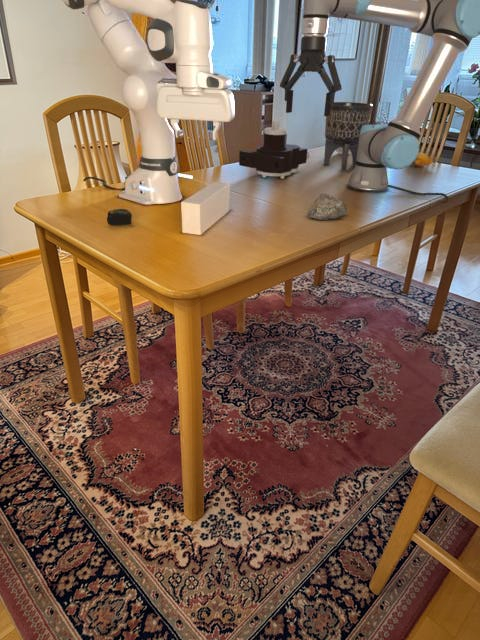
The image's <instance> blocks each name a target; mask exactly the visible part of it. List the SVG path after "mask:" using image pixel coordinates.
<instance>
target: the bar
mask: <svg viewBox="0 0 480 640" xmlns="http://www.w3.org/2000/svg"><path fill="white" fill-rule="evenodd" d="M230 195H231V183H230V182H221V181H220V182H219V181H213V182H211V183H209V184H208V185H207V186H205V187H203V188H201V189H199V190H198V191H196V192H195V193H193V194H191V195H190V196H189V197H187V198H185V199H183V200H182V201H181V203H180V209H181V210H180V211H181V229H182V230H181V231H182V234H188V235H189V234H190V235H197V236H201V235H202V234H204V233H205V232H206V231H207V230H209V228H211V227H213V225H215V223H216V222H218V221H219V220H220V219H221V218H223V217H224V216H225V215H226V214H227V213H229V211H230V210H231V207H230V206H231V196H230Z"/></svg>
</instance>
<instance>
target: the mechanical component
mask: <svg viewBox="0 0 480 640" xmlns="http://www.w3.org/2000/svg"><path fill="white" fill-rule="evenodd" d="M287 138H288V129H287V128H286V127H280V121H279V120H272V126H271V127H265V128H264V129H263V145H262V146H258V147H257V148H256V151H250V150H245V149H241V150H239V153H238V154H239V155H238V157H239V159H238V166H240V167H245V168H250V169H255V173H256V174H257V175H261V177H262V178H267V177H279V178H280V179H285V176H291V175H292V173H298V171H299V167H300V165H303V164H304V165H305V164H307V160H309V158H310V156H311V154H310V152H309V151H308V148H304V147H301V146H299V145H297V144H290V143H287Z"/></svg>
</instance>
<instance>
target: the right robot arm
mask: <svg viewBox="0 0 480 640" xmlns="http://www.w3.org/2000/svg"><path fill="white" fill-rule="evenodd" d="M330 18H337V19H346V20H352V21H360V22H366V23H373V24H379V25H386V26H393V27H398V28H399V27H400V28H404V29H408V30H409V32H410V33H415V34H419V35H423V36H428V37H431V38H432V40H433V44H432V46H431V48H430V50H429V52H428V54H427V56H426V58H425V60H424V62H423V64H422V66H421V68H420V70H419V72H418V74H417V76H416V78H415V80H414V82H413V84H412V86H411V88H410V90H409V92H408V95H407V96H406V98H405V100H404V102H403V104H402V106H401V108H400V110H399V112H398V114H397V116H396V117H395V118H394V119H391V120H389V121H388V124H369V125H363V126H362V128H361V131H360V135H359V143H358V151H357V158H356V165H355V166H354V167H353V171H351V174H350V176H349V179H348V180H347V181H348V182H347V187H348V188H349V189H351V190H354V191H358V192H363V193H364V192H365V193H382V192H386V191H388V189H389V188H391V189H393V190H398V191H401V192H405V193H408V194H412V195H416V196H441V197H444V198H445V199H446V200H450V197H449V196H448V194H446V193H444V192H417V191H415V190H414V191H413V190H410V189H406V188H402V187H399V186H396V185H391V184H389V178H388V173H387V172H388V171H387V168H388V169H391V170H392V169H393V170H402V169H405V168H407V167H409V166H410V165H412V163H413V161H414V160H415V159H416V157H417V155H418V153H420V142H419V139H420V137H421V135H422V133H421V129H420V128H421V126H422V124H423V122H424V120H425V119H426V117H427V115H428V113H429V111H430V109H431V107H432V105H433V103H434V102H435V100H436V97H437V96H438V94H439V92H440V90H441V88H442V86H443V84H444V82H445V81H446V79H447V77H448V75H449V73H450V71H451V70H452V67H453V66H454V63H455V62H456V60H457V58H458V57H459V54H460V53H462V52H465V51H467V49H468V47H469V46H470V43H471V42H472V40H473V39H474V38H477V37H478V36H479V35H480V0H303V16H302V24H301V25H302V27H301V35H303V36H302V37H301V38H300V54H299V55H298V54H294V53H293V54H291V55H290V57H289V58H290V59H289V63H288V65H287V67H286V70H285V72H284V74H283V76H282V78H281V81H280V83H279V87H280V88H281V89H284V101H285V102H286V104H285V113H286V114H290V113H293V104H294V103H293V101H294V89H292V88H293V87H294V86H295V85H296V83H297V82H298V81H299V80H300V78H301V77H302V75H303V74H304V73H305V72H307V73H308V72H310V73H311V72H312V73H317V74H318V75H319V76H320V79H321V81H322V82H323V84H324V85H325V87H326V89H327V90H328V92H326V93H325V103H324V112H323V117H326V116H330V110H331V104H333V103H334V102H335V97H336V96H335V95H336V93H337V92H339V91H341V90H342V89H343V88H342V84H341V80H340V77H339V73H338V69H337V66H336V57H335V55H334V54H329V55H326V50H327V49H326V48H327V40H328V39H327V37H326V36H327V35H328V31H329V29H328V28H329V20H330ZM325 62H326V64H327V68H328V71H329V74H330V77H329V75H328V73H327V71H326V68H325V66H324V63H325ZM298 63H300V65H299V66H298V67H297V69H296V71H295V68H296V66H297V64H298ZM294 71H295V72H294Z"/></svg>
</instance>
